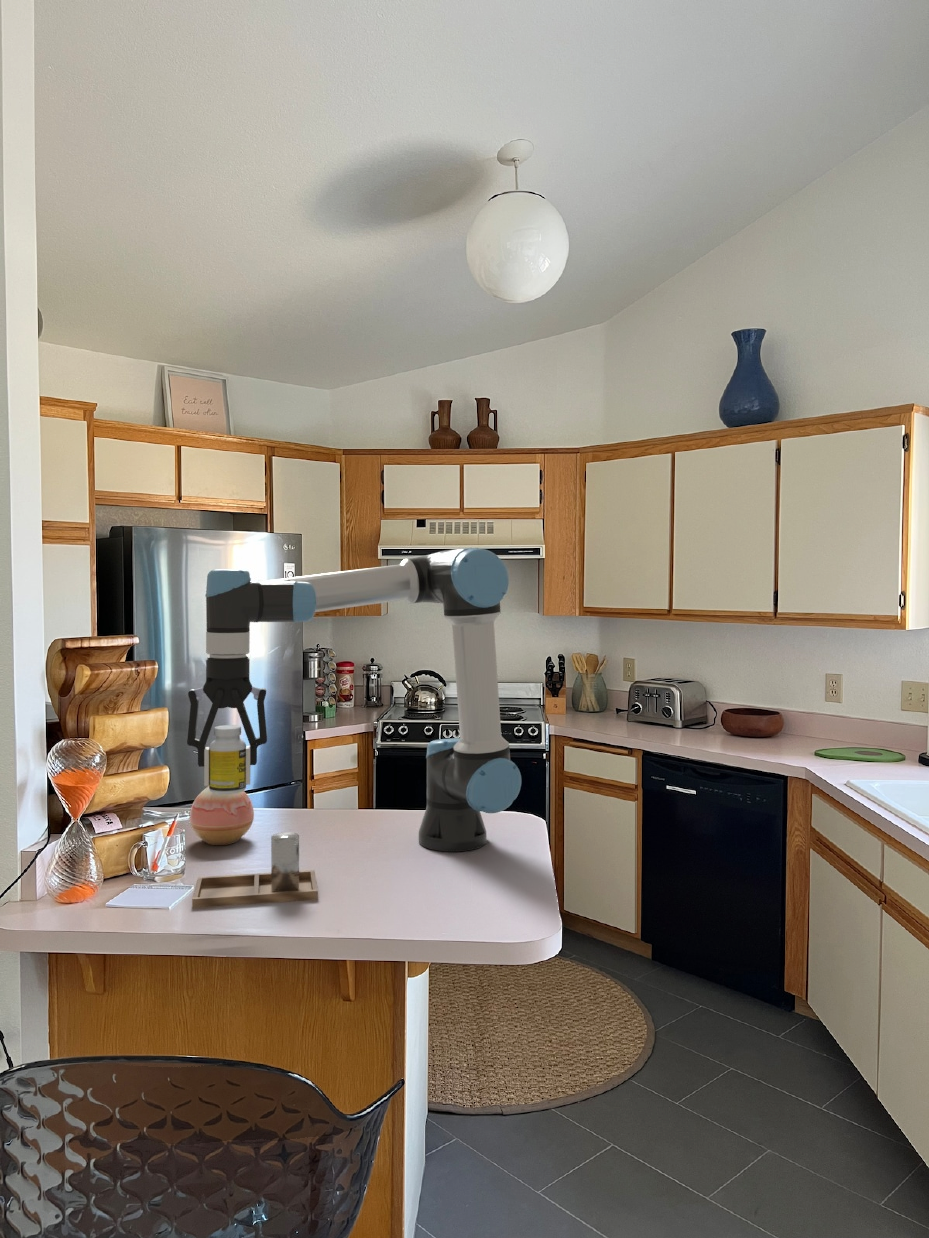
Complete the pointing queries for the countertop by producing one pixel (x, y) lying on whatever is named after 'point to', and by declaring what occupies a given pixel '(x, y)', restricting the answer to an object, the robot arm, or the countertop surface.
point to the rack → (249, 890)
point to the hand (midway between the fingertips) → (227, 783)
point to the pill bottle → (227, 761)
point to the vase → (221, 817)
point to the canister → (285, 862)
